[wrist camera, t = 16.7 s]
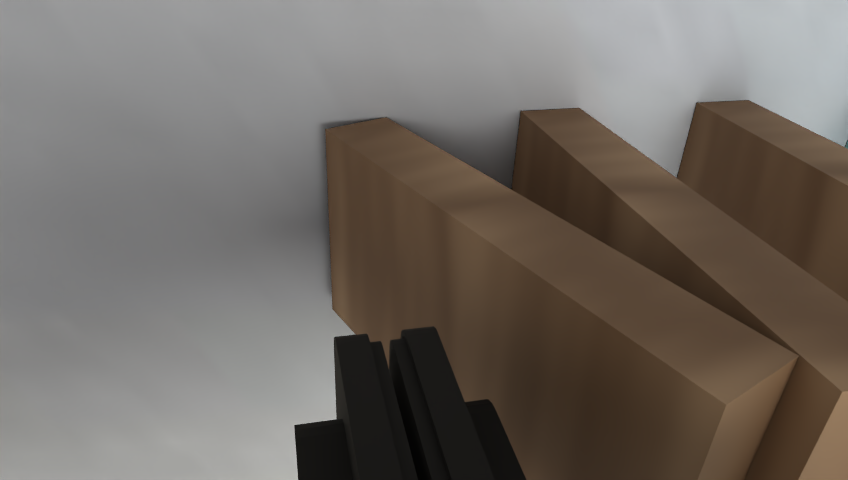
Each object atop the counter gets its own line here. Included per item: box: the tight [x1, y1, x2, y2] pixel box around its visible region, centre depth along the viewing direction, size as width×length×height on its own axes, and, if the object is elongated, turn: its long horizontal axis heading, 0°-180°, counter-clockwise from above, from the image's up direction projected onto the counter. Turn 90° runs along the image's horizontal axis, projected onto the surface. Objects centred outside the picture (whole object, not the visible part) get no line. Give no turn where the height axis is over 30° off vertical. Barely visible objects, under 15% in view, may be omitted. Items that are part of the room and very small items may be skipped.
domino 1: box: [325, 117, 799, 480], centre depth 13 cm, size 2×5×10 cm, turn 178°
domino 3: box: [511, 108, 848, 480], centre depth 13 cm, size 2×5×10 cm, turn 178°
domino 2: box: [677, 100, 848, 301], centre depth 14 cm, size 2×5×10 cm, turn 177°
